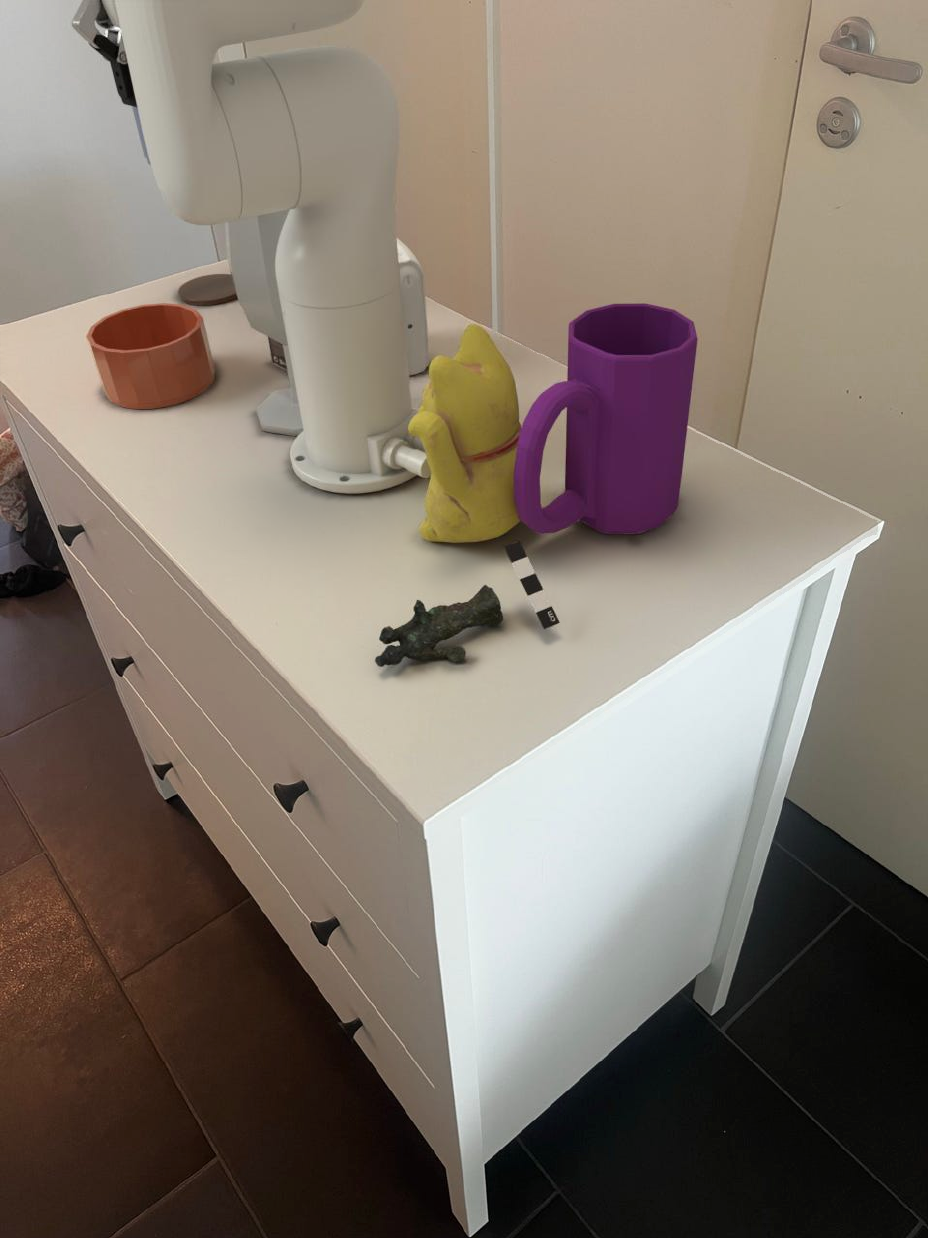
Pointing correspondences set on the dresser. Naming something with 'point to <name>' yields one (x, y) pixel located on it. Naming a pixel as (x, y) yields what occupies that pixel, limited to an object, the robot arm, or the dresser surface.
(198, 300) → the coaster
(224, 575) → the dresser surface
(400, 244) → the photo printer
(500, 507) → the figurine
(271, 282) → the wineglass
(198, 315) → the orange bowl
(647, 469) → the mug
